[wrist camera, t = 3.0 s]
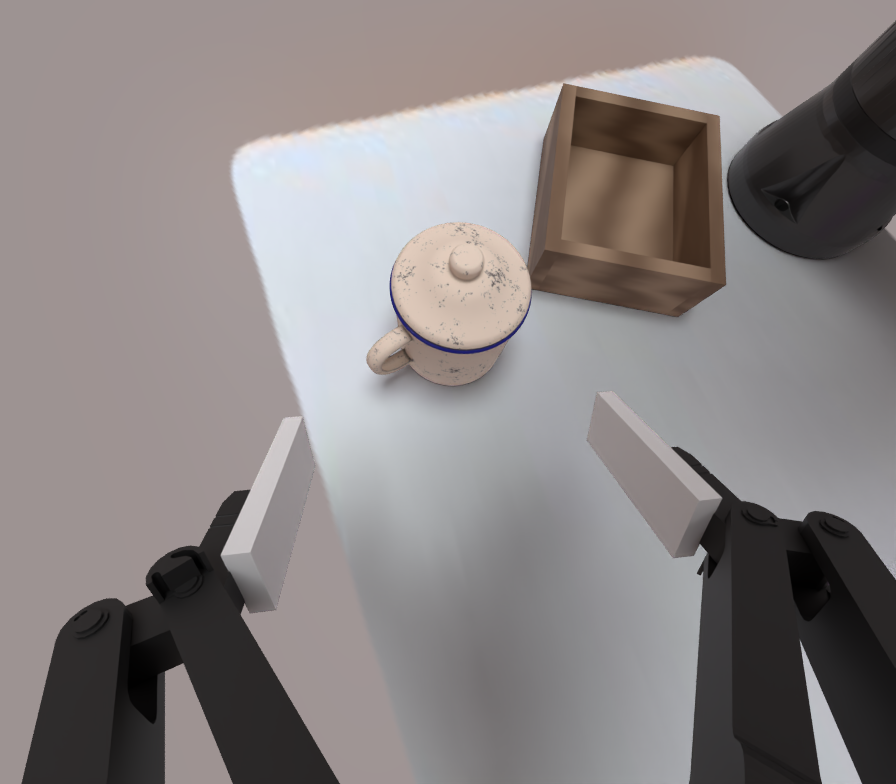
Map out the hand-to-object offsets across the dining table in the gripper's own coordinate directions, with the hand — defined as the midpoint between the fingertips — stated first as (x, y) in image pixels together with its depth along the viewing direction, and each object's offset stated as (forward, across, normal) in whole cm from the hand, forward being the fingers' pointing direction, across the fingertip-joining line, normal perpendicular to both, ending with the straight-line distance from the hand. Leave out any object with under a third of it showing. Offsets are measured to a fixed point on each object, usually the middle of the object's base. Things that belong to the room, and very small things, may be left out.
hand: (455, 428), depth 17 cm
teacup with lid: (+16, +1, -3) cm, 16 cm away
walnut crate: (+24, +18, +6) cm, 30 cm away
